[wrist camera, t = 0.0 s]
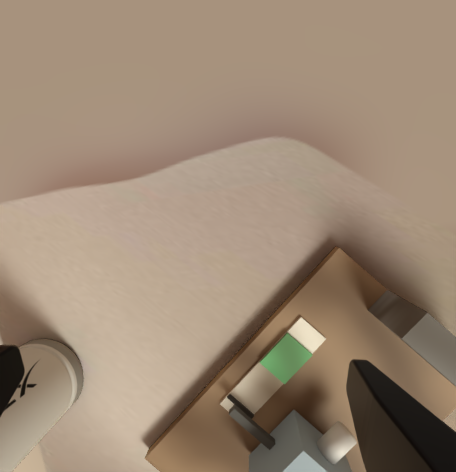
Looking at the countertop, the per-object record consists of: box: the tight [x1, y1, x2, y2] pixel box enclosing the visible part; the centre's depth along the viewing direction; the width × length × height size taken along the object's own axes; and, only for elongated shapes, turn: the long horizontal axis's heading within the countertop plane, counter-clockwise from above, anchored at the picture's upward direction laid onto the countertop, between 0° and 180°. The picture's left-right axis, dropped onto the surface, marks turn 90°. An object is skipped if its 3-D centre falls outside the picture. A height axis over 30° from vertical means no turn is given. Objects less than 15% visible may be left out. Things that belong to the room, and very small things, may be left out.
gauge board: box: [145, 246, 456, 472], centre depth 21 cm, size 22×14×6 cm, turn 139°
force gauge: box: [229, 404, 357, 472], centre depth 21 cm, size 7×9×4 cm
